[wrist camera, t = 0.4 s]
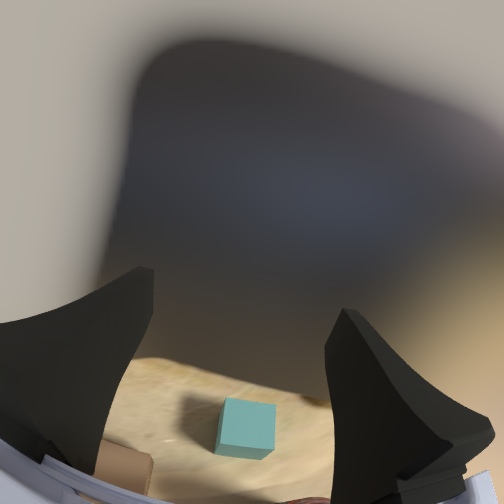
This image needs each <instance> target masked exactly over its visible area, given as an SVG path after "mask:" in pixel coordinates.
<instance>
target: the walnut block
mask: <svg viewBox="0 0 504 504" xmlns="http://www.w3.org/2000/svg"><path fill="white" fill-rule="evenodd" d="M153 463H154V462H153V459H152V457H151V455H150V454H147V453H143V452H140V451H136V450H133V449H129V448H126V447H123V446H120V445H117V444H114V443H111V442H108V441H105V440H103V439H101V443H100V447H99V452H98V456H97V461H96V466H95V472H94V475H92V477H94V478H96V479H99V480H101V481H104V482H106V483H109V484H112V485H114V486H117V487H120V488H123V489H125V490H128V491H131V492H134V493H138V494H141V495H144V496H147V494H148V489H149V484H150V479H151V473H152V468H153ZM78 494H79V493H78ZM79 495H80V496H81V497H82V498H84V499H86V500H88V501H90V502H92V503H94V504H102V503H99V502H97V501H95V500H92V499H90V498H88V497H85V496H83V495H81V494H79Z"/></svg>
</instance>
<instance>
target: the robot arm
mask: <svg viewBox="0 0 504 504" xmlns="http://www.w3.org/2000/svg"><path fill="white" fill-rule="evenodd" d="M153 282H154V270H153V269H148V268H144V267H140V266H139V267H137V268H135V269H133V270H131V271H129V272H128V273H126V274H124V275H122V276H121V277H119V278H117V279H116V280H114V281H112V282H110V283H108V284H107V285H105V286H103V287H101V288H100V289H98V290H96V291H94V292H92V293H90V294H88V295H86V296H84V297H82V298H81V299H78V300H76V301H74V302H71V303H69V304H67V305H65V306H62V307H59V308H57V309H54V310H51V311H48V312H45V313H42V314H39V315H36V316H32V317H29V318H25V319H21V320H17V321H11V322H6V323H0V504H94V503H92V502H90V501H88V500H86V499H84V498H82V497H81V496H80V495H79V494H81V495H83V496H85V497H88V498H90V499H92V500H95V501H97V502H99V503H102V504H174V503H170V502H166V501H162V500H158V499H155V498H151V497H148V496H144V495H141V494H138V493H134V492H131V491H128V490H125V489H123V488H120V487H117V486H114V485H112V484H109V483H106V482H104V481H101V480H99V479H96V478H94V477H92V475H94V472H95V466H96V461H97V456H98V452H99V447H100V443H101V439H102V435H103V431H104V428H105V424H106V421H107V417H108V414H109V411H110V408H111V405H112V402H113V399H114V396H115V393H116V391H117V388H118V385H119V383H120V381H121V379H122V376H123V375H124V373H125V371H126V369H127V367H128V365H129V363H130V361H131V359H132V357H133V356H134V354H135V352H136V350H137V348H138V346H139V344H140V342H141V341H142V339H143V337H144V334H145V333H146V330H147V328H148V325H149V322H150V320H151V317H152V314H153V286H154V285H153V284H154V283H153ZM325 369H326V375H327V381H328V387H329V392H330V399H331V405H332V411H333V418H334V435H335V454H334V474H333V486H332V493H331V500H330V504H498V500H497V497H496V494H495V490H494V486H493V483H492V480H491V476H490V473H489V470H485V471H483V472H481V473H478V474H476V475H474V476H471V477H469V478H467V479H465V480H464V479H463V476H462V475H463V474H465V473H466V471H467V468H466V465H465V464H466V463H467V462H469V461H470V460H472V459H473V458H474V457H475V456H477V455H478V454H479V453H481V452H482V451H483V450H484V449H485V448H486V447H488V446H489V444H490V443H491V442H492V441H493V439H494V438H495V432H494V429H493V427H492V425H491V422H490V420H489V419H488V417H485V416H483V415H481V414H479V413H477V412H475V411H473V410H471V409H468V408H467V407H464V406H463V405H461V404H459V403H457V402H456V401H454V400H453V399H451V398H450V397H448V396H446V395H445V394H443V393H442V392H441V391H439V390H438V389H436V388H435V387H434V386H432V385H431V384H430V383H429V382H427V381H426V380H425V379H424V378H422V377H421V376H420V375H419V374H418V373H417V372H415V371H414V370H413V369H412V368H411V367H410V366H409V365H408V364H406V362H405V361H404V360H403V359H402V358H401V357H400V356H399V355H398V354H397V353H396V352H395V351H394V350H393V349H392V348H391V347H390V346H389V345H388V344H387V342H386V341H385V340H384V339H383V338H382V337H381V336H380V335H379V334H378V332H377V331H376V330H375V329H374V328H373V327H372V326H371V325H370V323H369V322H368V321H367V320H366V319H365V318H364V317H363V316H362V315H361V314H360V313H359V312H358V311H357V310H352V309H346V308H342V310H341V313H340V315H339V317H338V319H337V321H336V323H335V326H334V328H333V330H332V332H331V334H330V336H329V338H328V340H327V342H326V344H325ZM78 493H79V494H78Z"/></svg>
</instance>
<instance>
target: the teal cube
mask: <svg viewBox="0 0 504 504" xmlns="http://www.w3.org/2000/svg"><path fill="white" fill-rule="evenodd" d="M275 416H276V405H275V404H266V403H259V402H252V401H245V400H239V399H233V398H227V397H226V399H225V401H224V404H223V407H222V409H221V412H220V415H219V422H218V429H217V436H216V444H215V451H214V454H217V455H223V456H230V457H238V458H246V459H256V460H262V459H263V458H264V457H266V456H267V455H268V454H269V453H271V452H272V451H273V450H274V446H275Z"/></svg>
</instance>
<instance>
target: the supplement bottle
mask: <svg viewBox="0 0 504 504" xmlns="http://www.w3.org/2000/svg"><path fill="white" fill-rule="evenodd" d="M330 500H331V499H329V498H323V497H309V498H303V499H297V500H293V501H287V502H282V503H276V504H330Z"/></svg>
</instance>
